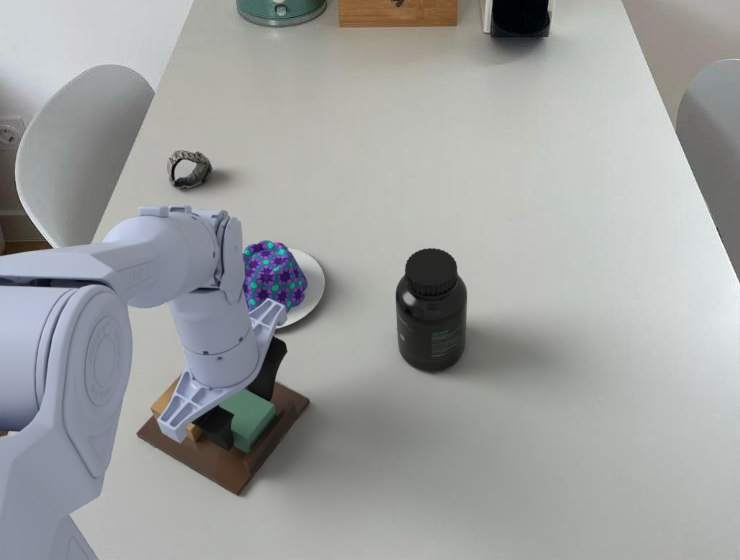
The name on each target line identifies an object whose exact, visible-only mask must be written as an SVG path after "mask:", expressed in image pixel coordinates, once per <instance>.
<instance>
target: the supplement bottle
mask: <svg viewBox="0 0 740 560" xmlns="http://www.w3.org/2000/svg"><path fill="white" fill-rule="evenodd" d="M467 312H468V289H467V286H466V284H465V281H464V280H463V279H462V277H461V276H460V275H459V273H458V265H457V261H456V260H455V258H454V257H453V256H452V254H450V253H449V252H448V251H445V250H443V249H440V248H435V247H429V248H428V247H427V248H423V249H419V250H416V251H415V252H414V253H412V254H411V255H410V256H409V257H408V259H407V260H406V263H405V265H404V274H403V276H402V277H401V278H400V280H399V281H398V283H397V285H396V289H395V314H396V333H397V334H396V335H397V347H398V351H399V354H400V355H401V357H402V359H403V360H404V361H405V362H406V363H407V364H408V365H409V366H411V367H412V368H414V369H416V370H419V371H421V372H427V373H436V372H443V371H446V370H448V369H449V368H452V367H453V366H454V365H456V364H457V363H458V362H459V361H460V360H461V359H462V357H463V355H464V353H465V349H466V341H467V316H468V315H467Z"/></svg>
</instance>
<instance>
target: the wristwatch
mask: <svg viewBox="0 0 740 560" xmlns="http://www.w3.org/2000/svg"><path fill="white" fill-rule="evenodd" d="M183 160H184V161H185V160H186V161H190V162H192V163H195V164H196V166H195V167H194V168H193V170H192V171H191V173H189V174H188V175H187V176H183V177H181V176H180V177H179V178H177V179H176V177H175V176H176V175H175V173H176V172H175V171H176V169H177V166H178V164H180V163H181V162H182V161H183ZM213 170H214V168H213V166H212V163H211V161H210V160H209V158H208V157H207V156H205V155H204V154H203V152H200V151H195V152H192V151H189V150H184V149H179V150H175V151H173V153H172V154H171V156H170V157H168V158H167V162H166V171H167V174H168V181H169V183H170V185H171V186H172V188H174V189H176V190H179V189H184V188H185V189H192V188H194V187H197V186H199V185H203V184H206V182H207V181H208V179H209V178H210V177H211V175H212V173H213Z"/></svg>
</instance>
